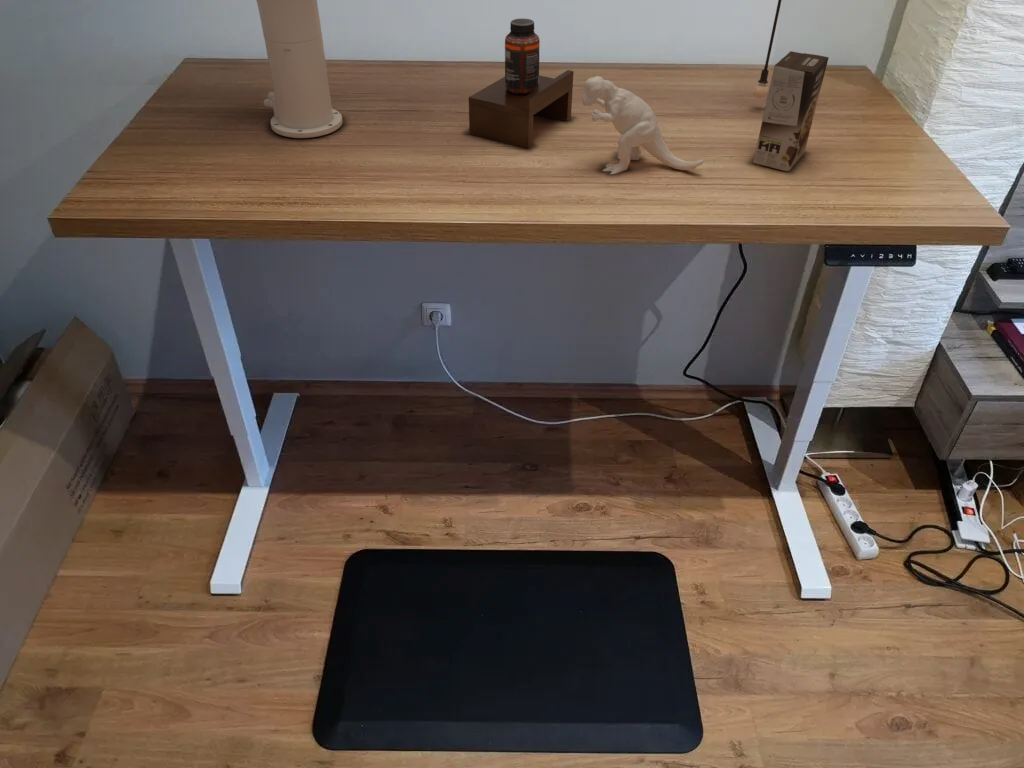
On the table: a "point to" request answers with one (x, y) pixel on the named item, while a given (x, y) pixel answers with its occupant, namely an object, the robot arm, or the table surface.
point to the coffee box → (790, 110)
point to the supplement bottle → (522, 57)
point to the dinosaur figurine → (630, 125)
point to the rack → (518, 109)
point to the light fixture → (762, 88)
